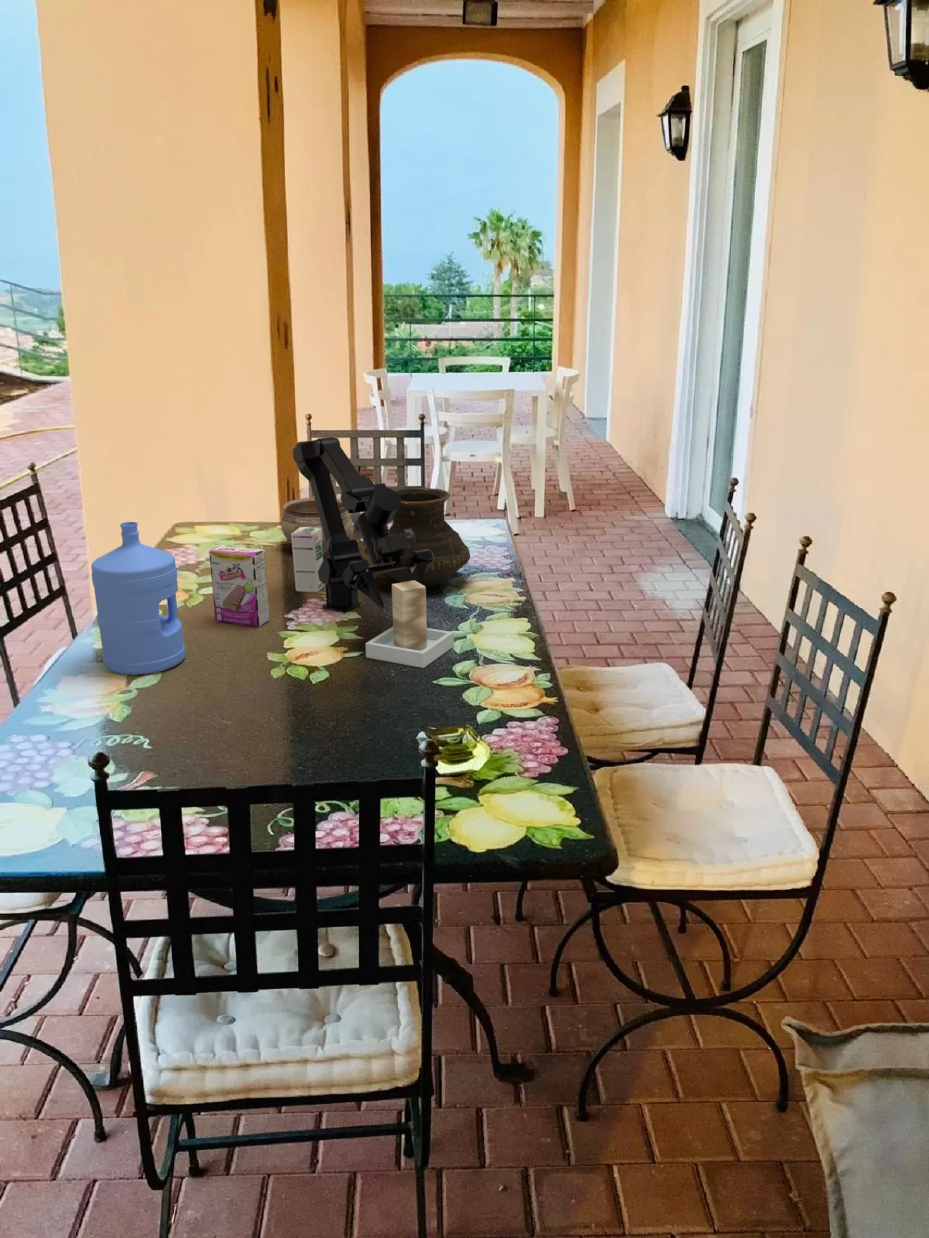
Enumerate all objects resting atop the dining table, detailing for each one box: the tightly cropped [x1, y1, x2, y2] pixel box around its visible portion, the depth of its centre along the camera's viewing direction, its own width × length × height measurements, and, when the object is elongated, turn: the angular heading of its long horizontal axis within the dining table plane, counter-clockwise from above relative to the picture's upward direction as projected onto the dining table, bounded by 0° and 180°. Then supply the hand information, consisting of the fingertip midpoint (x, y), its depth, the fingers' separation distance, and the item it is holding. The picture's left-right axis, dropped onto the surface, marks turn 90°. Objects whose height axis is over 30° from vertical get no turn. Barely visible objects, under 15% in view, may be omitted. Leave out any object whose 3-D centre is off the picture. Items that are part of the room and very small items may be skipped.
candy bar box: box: [208, 544, 271, 628], centre depth 226 cm, size 11×5×16 cm, turn 71°
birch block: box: [391, 580, 428, 650], centre depth 208 cm, size 5×5×13 cm
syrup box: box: [291, 527, 325, 593], centre depth 248 cm, size 6×6×14 cm
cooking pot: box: [280, 497, 353, 551], centre depth 281 cm, size 25×19×12 cm
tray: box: [365, 626, 455, 669], centre depth 210 cm, size 13×13×3 cm
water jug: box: [91, 521, 186, 676], centre depth 202 cm, size 16×16×28 cm
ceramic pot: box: [384, 487, 471, 588], centre depth 250 cm, size 24×24×22 cm
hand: (403, 603), depth 210 cm, fingers open, 9 cm apart
